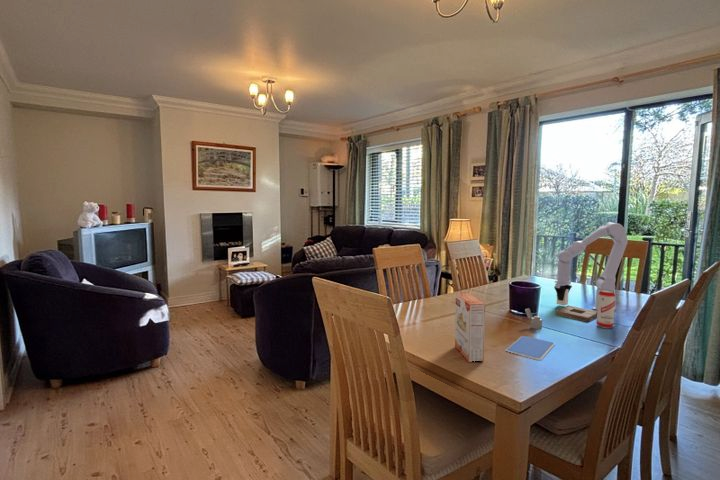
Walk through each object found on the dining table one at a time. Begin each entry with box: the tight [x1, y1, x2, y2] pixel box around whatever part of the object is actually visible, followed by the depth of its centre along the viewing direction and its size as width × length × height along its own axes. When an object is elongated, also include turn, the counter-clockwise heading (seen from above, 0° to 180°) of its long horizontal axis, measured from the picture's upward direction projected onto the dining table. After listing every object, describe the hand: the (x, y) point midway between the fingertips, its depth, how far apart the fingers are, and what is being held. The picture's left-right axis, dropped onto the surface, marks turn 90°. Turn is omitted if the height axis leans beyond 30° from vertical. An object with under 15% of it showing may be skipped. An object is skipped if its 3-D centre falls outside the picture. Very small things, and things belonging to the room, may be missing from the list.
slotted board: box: [555, 304, 597, 323], centre depth 181 cm, size 14×14×2 cm
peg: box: [556, 289, 570, 307], centre depth 195 cm, size 4×4×8 cm
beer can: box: [596, 290, 616, 329], centre depth 164 cm, size 6×6×16 cm
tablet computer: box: [505, 335, 555, 361], centre depth 142 cm, size 19×13×1 cm, turn 139°
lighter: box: [524, 307, 543, 331], centre depth 164 cm, size 7×2×8 cm, turn 42°
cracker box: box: [454, 293, 486, 363], centre depth 135 cm, size 14×6×21 cm, turn 5°
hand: (562, 299), depth 195 cm, fingers closed on peg, 4 cm apart
